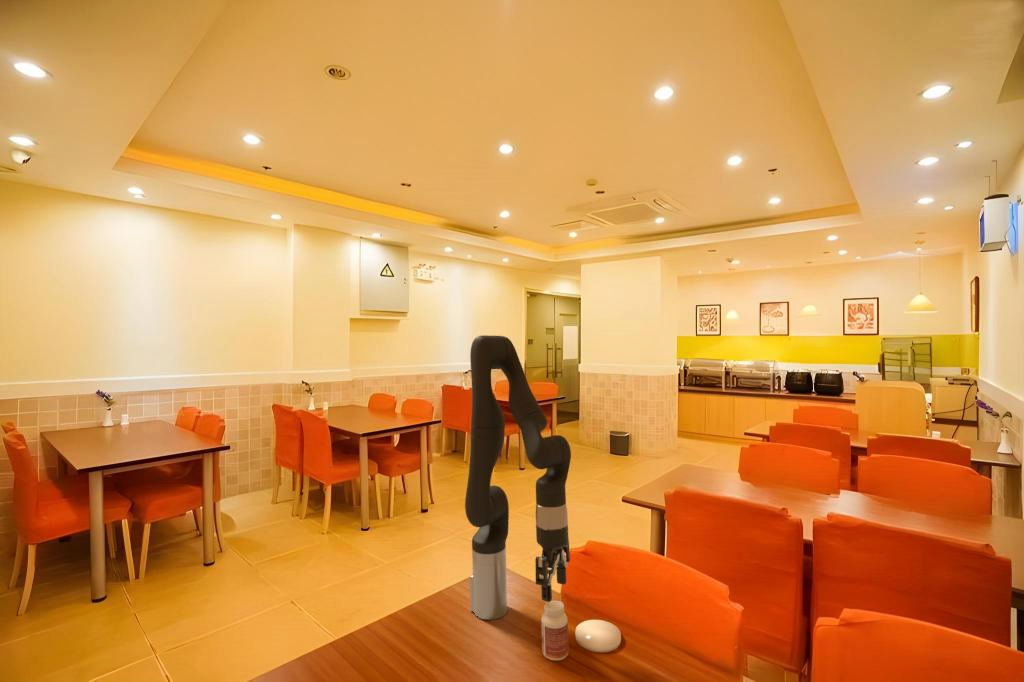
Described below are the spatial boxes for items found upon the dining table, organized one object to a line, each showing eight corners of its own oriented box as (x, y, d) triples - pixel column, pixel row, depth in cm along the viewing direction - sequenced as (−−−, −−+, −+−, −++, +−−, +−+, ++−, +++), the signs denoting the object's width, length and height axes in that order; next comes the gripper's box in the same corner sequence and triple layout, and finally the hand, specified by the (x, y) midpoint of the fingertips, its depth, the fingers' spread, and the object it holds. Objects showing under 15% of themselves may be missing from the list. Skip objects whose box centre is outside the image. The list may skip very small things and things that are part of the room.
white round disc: (568, 643, 111) (568, 638, 111) (584, 620, 121) (584, 615, 121) (613, 657, 106) (613, 652, 106) (626, 631, 116) (626, 626, 116)
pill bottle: (574, 655, 107) (572, 606, 108) (553, 665, 104) (552, 615, 104) (557, 641, 113) (556, 595, 113) (536, 651, 109) (535, 603, 109)
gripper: (549, 510, 117) (552, 575, 117) (523, 530, 105) (526, 602, 104) (577, 514, 113) (580, 581, 113) (554, 535, 101) (557, 610, 100)
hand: (554, 591), depth 108 cm, fingers open, 8 cm apart
